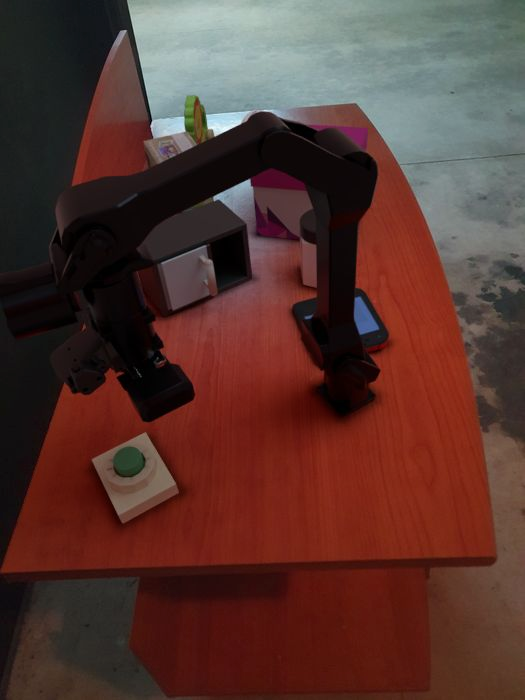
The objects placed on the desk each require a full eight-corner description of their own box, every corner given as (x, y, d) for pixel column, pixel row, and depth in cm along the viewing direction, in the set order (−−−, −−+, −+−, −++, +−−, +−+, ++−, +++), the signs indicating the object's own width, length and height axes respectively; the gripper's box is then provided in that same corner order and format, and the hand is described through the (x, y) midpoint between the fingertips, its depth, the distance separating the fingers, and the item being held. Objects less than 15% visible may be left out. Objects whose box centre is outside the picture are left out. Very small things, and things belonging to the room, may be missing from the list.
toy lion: (195, 141, 148) (186, 80, 137) (216, 140, 147) (208, 79, 136) (185, 171, 137) (173, 108, 126) (207, 171, 136) (198, 107, 125)
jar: (317, 296, 101) (317, 239, 92) (290, 274, 106) (288, 218, 97) (356, 277, 104) (360, 220, 95) (328, 256, 109) (329, 200, 100)
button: (148, 468, 74) (145, 460, 72) (122, 482, 72) (119, 474, 71) (137, 449, 76) (134, 441, 75) (112, 462, 75) (108, 454, 73)
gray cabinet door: (227, 301, 100) (220, 254, 92) (181, 321, 97) (170, 274, 90) (216, 290, 102) (209, 243, 95) (171, 309, 99) (160, 262, 92)
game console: (291, 308, 99) (290, 298, 97) (360, 293, 101) (361, 283, 99) (315, 366, 89) (315, 356, 87) (392, 349, 90) (394, 339, 89)
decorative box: (348, 245, 111) (352, 174, 100) (255, 236, 115) (249, 167, 105) (363, 195, 123) (368, 127, 113) (279, 188, 128) (275, 122, 117)
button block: (179, 492, 75) (173, 476, 72) (122, 524, 72) (114, 508, 69) (148, 441, 81) (142, 424, 78) (95, 468, 78) (87, 451, 76)
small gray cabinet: (252, 278, 106) (246, 223, 97) (164, 317, 100) (150, 261, 91) (226, 253, 112) (218, 199, 103) (142, 288, 106) (126, 233, 98)
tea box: (219, 225, 119) (209, 158, 109) (173, 237, 117) (158, 171, 107) (198, 192, 129) (187, 128, 119) (155, 203, 127) (140, 139, 117)
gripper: (19, 289, 63) (65, 382, 74) (73, 395, 51) (118, 487, 62) (113, 252, 66) (143, 346, 78) (183, 343, 55) (208, 438, 66)
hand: (151, 399), depth 71 cm, fingers closed
